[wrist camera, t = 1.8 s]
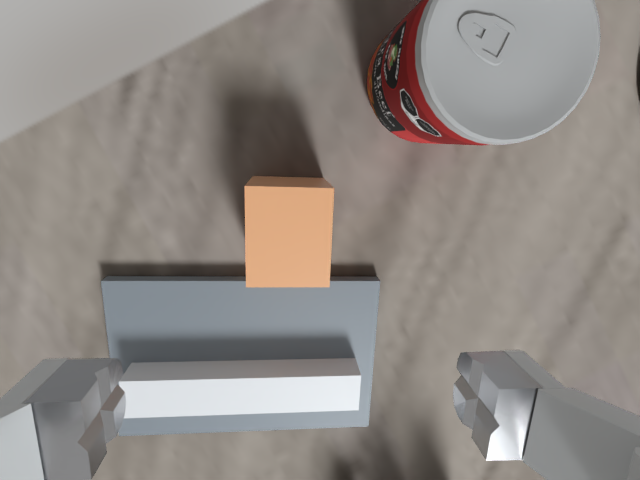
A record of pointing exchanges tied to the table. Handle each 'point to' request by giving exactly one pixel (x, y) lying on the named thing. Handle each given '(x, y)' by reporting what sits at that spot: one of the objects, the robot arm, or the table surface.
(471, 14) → the canned food
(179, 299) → the rail board
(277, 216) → the block
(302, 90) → the table surface
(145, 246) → the table surface
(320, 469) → the table surface
